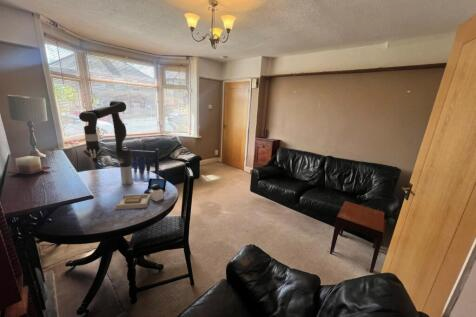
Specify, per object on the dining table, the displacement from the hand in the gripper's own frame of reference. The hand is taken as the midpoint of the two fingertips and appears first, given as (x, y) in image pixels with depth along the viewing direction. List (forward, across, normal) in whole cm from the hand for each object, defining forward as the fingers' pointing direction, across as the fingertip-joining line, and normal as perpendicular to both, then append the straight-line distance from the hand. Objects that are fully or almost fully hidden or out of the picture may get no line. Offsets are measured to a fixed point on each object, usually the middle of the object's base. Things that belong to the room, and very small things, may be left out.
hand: (95, 162), depth 152 cm
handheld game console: (+31, -40, -8) cm, 51 cm away
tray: (+30, -27, +12) cm, 42 cm away
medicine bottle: (+30, -43, +8) cm, 53 cm away
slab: (+28, -22, +12) cm, 37 cm away
